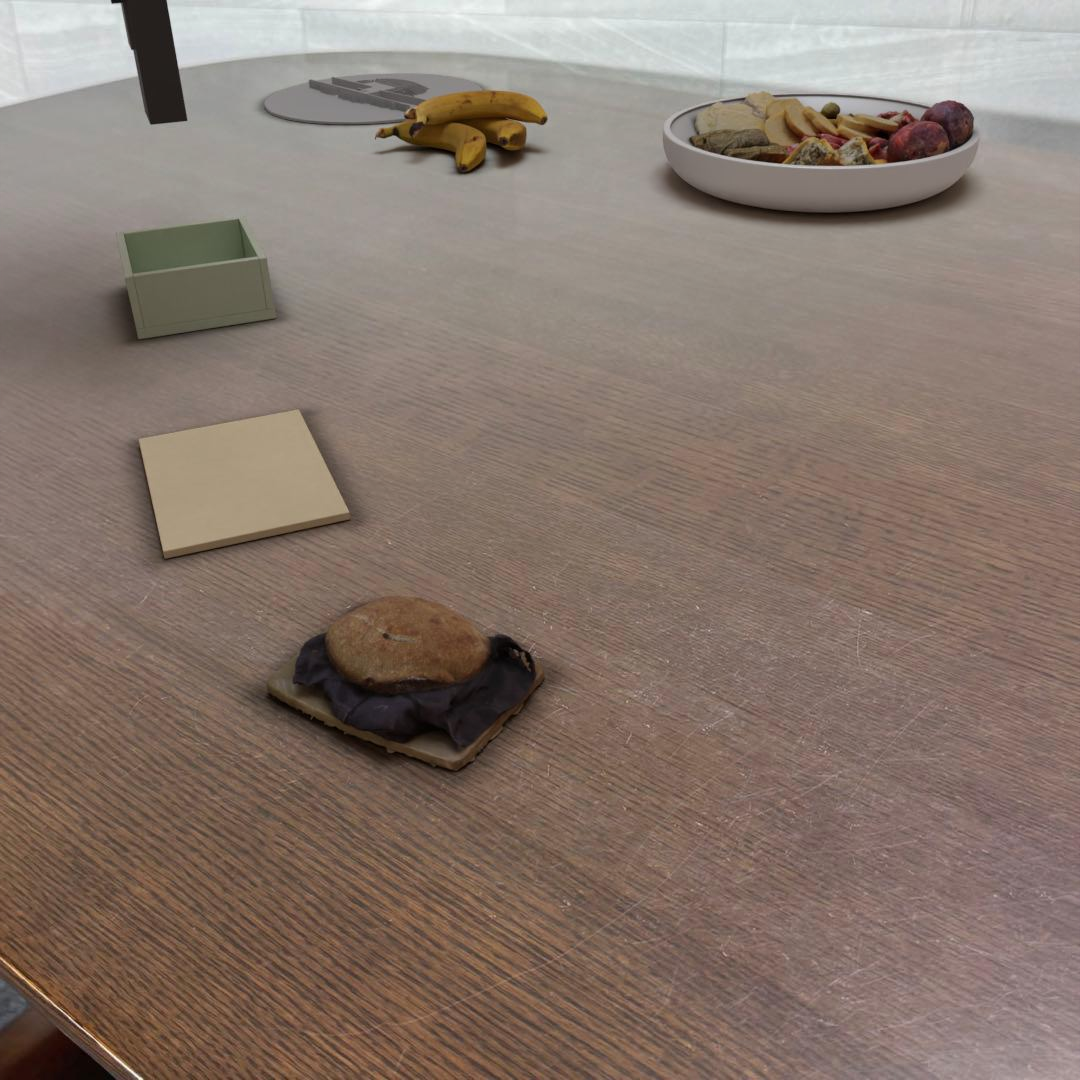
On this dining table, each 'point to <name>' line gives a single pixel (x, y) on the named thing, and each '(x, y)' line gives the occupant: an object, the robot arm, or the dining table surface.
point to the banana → (469, 123)
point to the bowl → (821, 150)
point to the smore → (410, 679)
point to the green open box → (195, 276)
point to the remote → (155, 59)
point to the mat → (238, 483)
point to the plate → (362, 97)
